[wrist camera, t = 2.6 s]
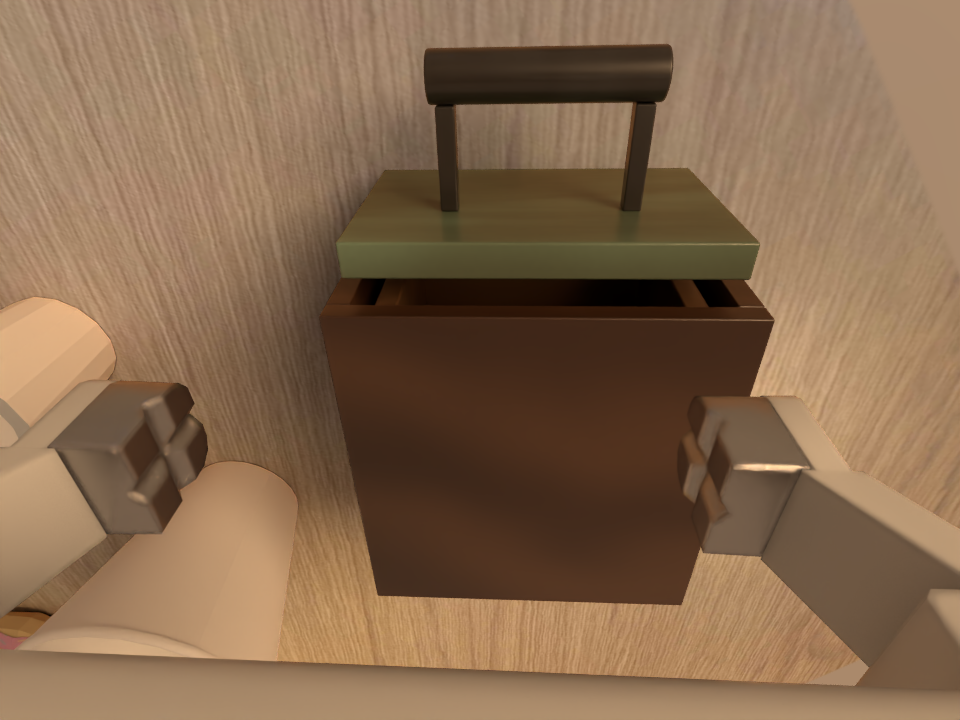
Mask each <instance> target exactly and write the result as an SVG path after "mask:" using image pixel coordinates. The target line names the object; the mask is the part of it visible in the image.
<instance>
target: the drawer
mask: <svg viewBox="0 0 960 720" xmlns="http://www.w3.org/2000/svg"><path fill="white" fill-rule="evenodd" d="M672 72H673V52H672V47H671V46H670V45H669V44H646V45H588V46H531V47H473V48H428V49H426V50H425V54H424V84H425V93H426V98H427V101H428V104H430V105H436V107H435V120H436V137H437V153H438V170H385V171H384V172H383V174H382V175H381V177H380V178H379V180H378V181H377V182H376V184H375V185H374V187H373V188H372V190H371V191H370V193H369V194H368V196H367V197H366V199H365V200H364V202H363V203H362V205H361V206H360V208H359V209H358V211H357V212H356V214H355V215H354V217H353V218H352V220H351V221H350V223H349V224H348V226H347V227H346V229H345V230H344V231H343V233H342V234H341V236H340V237H339V239H338V240H337V242H336V250H337V256H338V262H339V267H340V273H341V277H342V278H344V279H386V280H385V282H384V285H383V287H382V289H381V292H380V294H379V296H378V299H377V301H376V303H375V305H434V306H612V307H709V306H708V305H707V303H706V301H705V300H704V298H703V297H702V295H701V293H700V292H699V290H698V288H697V287H696V285H695V283H694V282H693V280H749V279H750V278H751V275H752V271H753V268H754V264H755V261H756V257H757V254H758V250H759V247H760V243H759V242H758V240H757V239H756V238H755V237H754V236H753V235H752V234H751V233H750V232H749V231H748V230H747V229H746V228H745V227H744V226H743V225H742V224H741V223H740V222H739V221H738V220H737V219H736V218H735V216H734V215H733V214H732V213H731V212H730V211H729V210H728V209H727V208H726V207H725V206H724V205H723V204H722V203H721V202H720V201H719V200H718V199H717V198H716V197H715V196H714V195H713V194H712V192H711V191H710V190H709V189H708V188H707V187H706V186H705V185H704V184H703V183H702V182H701V181H700V180H699V179H698V178H697V177H696V176H695V175H694V174H693V173H692V172H691V171H690V170H689V169H688V168H647V166H648V159H649V153H650V146H651V139H652V133H653V126H654V119H655V112H656V106H657V105H656V103H654V102H662V101H664V100H665V98H666V96H667V94H668V91H669V88H670V84H671V79H672ZM556 103H633V107H632V115H631V123H630V131H629V139H628V147H627V154H626V162H625V169H485V170H458V148H457V123H456V105H475V104H556Z"/></svg>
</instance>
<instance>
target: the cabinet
mask: <svg viewBox="0 0 960 720" xmlns="http://www.w3.org/2000/svg"><path fill="white" fill-rule="evenodd" d="M385 280H386V279H344V278H342V277H341V279H340V281H339V283H338V284H337V286H336V288H335V290H334V291H333V293H332V295H331V296H330V298H329V300H328V302H327V303H326V306H325V307H324V309H323V311H322V312H321V314H320V316H319V320H320V324H321V329H322V334H323V338H324V343H325V348H326V353H327V357H328V362H329V367H330V372H331V376H332V381H333V386H334V390H335V395H336V400H337V405H338V409H339V414H340V419H341V423H342V428H343V433H344V438H345V442H346V447H347V452H348V456H349V461H350V466H351V471H352V475H353V480H354V485H355V490H356V494H357V499H358V504H359V508H360V513H361V518H362V523H363V527H364V532H365V537H366V541H367V546H368V551H369V556H370V560H371V565H372V570H373V574H374V579H375V584H376V589H377V593H378V595H379V596H406V597H438V598H470V599H501V600H533V601H564V602H596V603H628V604H659V605H682V602H683V599H684V596H685V593H686V590H687V587H688V584H689V581H690V578H691V575H692V572H693V569H694V565H695V562H696V559H697V556H698V553H699V550H700V547H701V545H700V542H699V540H698V537H697V534H696V531H695V528H694V525H693V522H692V519H691V514H692V511H693V508H694V505H695V504H694V503H693V502H692V501H690V500H689V499H688V498H687V497H686V496H684V495H683V493H682V489H681V486H680V483H679V479H678V473H677V451H678V447H679V443H680V438H681V436H682V435H684V434H685V433H686V432H687V431H689V430H690V429H691V425H690V423H689V420H688V418H687V413H688V409H689V406H690V403H691V401H692V400H693V398H694V396H742V397H750V394H751V391H752V388H753V385H754V382H755V379H756V376H757V373H758V370H759V367H760V364H761V361H762V358H763V355H764V352H765V349H766V346H767V343H768V339H769V336H770V333H771V330H772V327H773V324H774V318H773V317H772V316H771V314H770V313H769V312H768V311H767V309H766V308H764V305H763V304H762V303H761V301H760V300H759V299H758V297H757V296H756V295H755V294H754V292H753V291H752V290H751V289H750V287H749V286H748V285H747V283H746V282H745V281H744V280H693V282H694V283H695V285H696V287H697V288H698V290H699V292H700V293H701V295H702V297H703V298H704V300H705V301H706V303H707V305H708V306H709V307H612V306H434V305H375V303H376V301H377V299H378V296H379V294H380V292H381V289H382V287H383V285H384V282H385Z"/></svg>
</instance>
